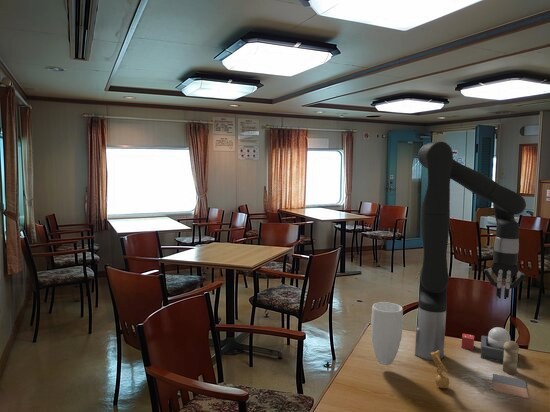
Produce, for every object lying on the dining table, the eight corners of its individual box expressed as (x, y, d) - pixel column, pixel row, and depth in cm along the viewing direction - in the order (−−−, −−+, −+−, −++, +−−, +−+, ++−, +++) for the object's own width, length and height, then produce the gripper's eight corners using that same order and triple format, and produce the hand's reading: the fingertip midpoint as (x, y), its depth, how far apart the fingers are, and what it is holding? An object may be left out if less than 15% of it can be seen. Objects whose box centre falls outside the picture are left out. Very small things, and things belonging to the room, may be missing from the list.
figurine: (455, 394, 123) (458, 356, 121) (436, 395, 122) (439, 357, 121) (440, 380, 131) (443, 343, 130) (422, 381, 130) (425, 344, 129)
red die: (461, 347, 155) (462, 336, 154) (461, 343, 158) (462, 332, 158) (473, 349, 153) (474, 338, 152) (473, 345, 156) (474, 334, 156)
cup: (364, 373, 134) (367, 308, 132) (372, 359, 144) (375, 299, 141) (397, 381, 130) (400, 315, 127) (403, 367, 139) (407, 305, 136)
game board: (493, 390, 125) (493, 389, 125) (492, 374, 135) (492, 373, 135) (528, 398, 121) (528, 397, 121) (524, 381, 131) (524, 380, 131)
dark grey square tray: (480, 357, 147) (481, 346, 146) (480, 345, 157) (481, 335, 156) (516, 364, 142) (517, 353, 142) (514, 351, 152) (515, 341, 151)
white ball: (487, 348, 147) (489, 329, 147) (487, 341, 154) (488, 322, 153) (510, 352, 144) (511, 333, 144) (509, 344, 151) (510, 326, 150)
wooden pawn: (502, 372, 136) (504, 342, 135) (501, 367, 140) (503, 337, 139) (517, 376, 134) (520, 345, 133) (516, 370, 138) (519, 340, 137)
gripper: (484, 250, 145) (480, 298, 147) (529, 254, 139) (525, 304, 141) (484, 246, 152) (480, 292, 153) (527, 250, 146) (523, 298, 147)
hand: (502, 298), depth 147 cm, fingers closed
